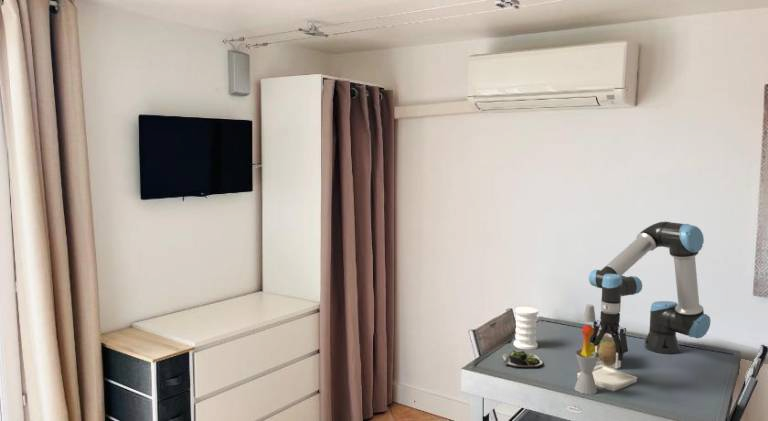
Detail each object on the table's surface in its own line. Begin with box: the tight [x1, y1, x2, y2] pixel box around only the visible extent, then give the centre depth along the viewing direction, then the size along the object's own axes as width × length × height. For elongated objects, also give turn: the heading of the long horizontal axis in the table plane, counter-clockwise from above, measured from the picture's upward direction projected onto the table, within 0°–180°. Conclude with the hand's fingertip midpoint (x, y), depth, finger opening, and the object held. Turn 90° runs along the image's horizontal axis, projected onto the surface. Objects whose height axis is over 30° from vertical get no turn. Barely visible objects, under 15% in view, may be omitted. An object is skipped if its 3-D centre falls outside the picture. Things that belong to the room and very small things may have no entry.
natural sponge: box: [597, 342, 618, 366], centre depth 246 cm, size 9×9×10 cm
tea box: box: [589, 325, 616, 370], centre depth 266 cm, size 15×10×15 cm, turn 168°
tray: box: [576, 365, 638, 392], centre depth 247 cm, size 17×17×2 cm
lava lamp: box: [574, 303, 599, 395], centre depth 235 cm, size 9×9×35 cm
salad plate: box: [502, 349, 544, 370], centre depth 268 cm, size 19×18×5 cm
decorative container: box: [513, 306, 539, 351], centre depth 288 cm, size 12×12×18 cm
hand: (607, 363), depth 247 cm, fingers closed on natural sponge, 9 cm apart
